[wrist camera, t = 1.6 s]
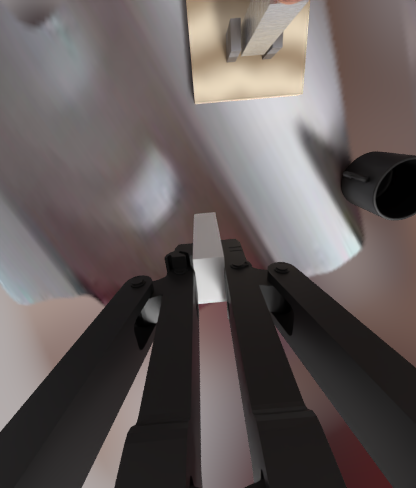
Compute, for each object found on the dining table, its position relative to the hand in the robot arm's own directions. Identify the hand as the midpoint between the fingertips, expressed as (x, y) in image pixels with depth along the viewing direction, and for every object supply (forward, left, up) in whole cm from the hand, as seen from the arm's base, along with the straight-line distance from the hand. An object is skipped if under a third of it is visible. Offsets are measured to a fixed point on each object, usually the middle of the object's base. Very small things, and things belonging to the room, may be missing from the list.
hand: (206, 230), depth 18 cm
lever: (-2, +18, -22) cm, 29 cm away
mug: (+26, +12, -27) cm, 39 cm away
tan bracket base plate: (-4, +23, -26) cm, 35 cm away
